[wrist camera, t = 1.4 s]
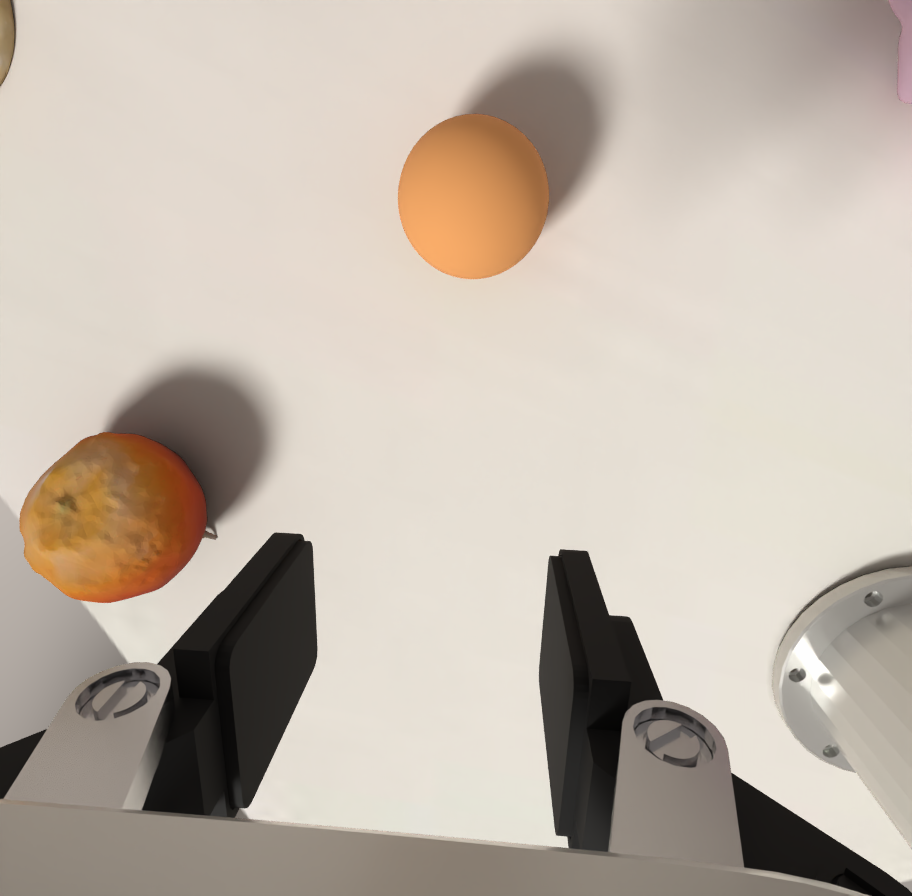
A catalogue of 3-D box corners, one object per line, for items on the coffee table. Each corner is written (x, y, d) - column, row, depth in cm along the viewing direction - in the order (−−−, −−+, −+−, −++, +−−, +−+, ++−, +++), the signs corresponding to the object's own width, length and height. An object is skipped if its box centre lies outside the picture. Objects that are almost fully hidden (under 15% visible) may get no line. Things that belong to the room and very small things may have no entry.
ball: (547, 136, 24) (563, 93, 19) (537, 281, 26) (549, 281, 20) (410, 134, 25) (384, 90, 19) (409, 276, 27) (385, 276, 21)
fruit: (129, 614, 31) (-16, 623, 24) (120, 478, 34) (-16, 448, 26) (259, 578, 30) (150, 576, 23) (241, 440, 32) (135, 396, 25)
